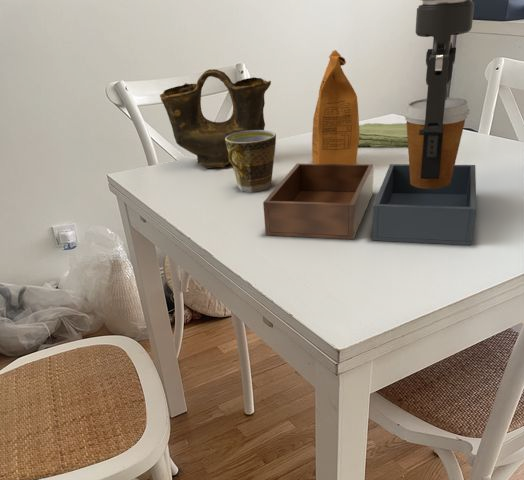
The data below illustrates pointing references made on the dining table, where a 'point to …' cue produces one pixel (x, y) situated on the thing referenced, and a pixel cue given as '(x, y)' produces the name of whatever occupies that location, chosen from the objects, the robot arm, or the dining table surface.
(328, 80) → the coffee package
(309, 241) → the dining table surface
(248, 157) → the ceramic cup
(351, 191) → the wood bin
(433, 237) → the grey bin
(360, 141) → the washcloth
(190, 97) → the pottery vessel
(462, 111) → the disposable coffee cup
